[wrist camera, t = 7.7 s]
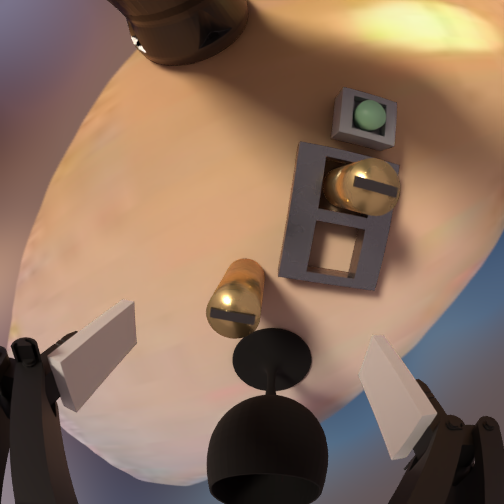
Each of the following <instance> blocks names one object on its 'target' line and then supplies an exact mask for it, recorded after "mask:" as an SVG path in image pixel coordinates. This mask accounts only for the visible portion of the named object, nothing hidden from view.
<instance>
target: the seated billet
mask: <svg viewBox="0 0 504 504" xmlns="http://www.w3.org/2000/svg"><path fill="white" fill-rule="evenodd" d="M323 193H324V195H325V197H326V199H327V200H328V201H329V202H330V203H331V204H332V205H334V206H337V207H340V208H344V209H348V210H352V211H356V212H360V213H363V214H367V215H371V216H381V215H384V214H386V213H388V212H389V211H391V210H392V209H393V208H394V206H395V205H396V203H397V201H398V199H399V195H400V182H399V178H398V176H397V174H396V172H395V170H394V169H393V168H392V166H390V165H389V164H388V163H387V162H385V161H383V160H381V159H377V158H368V159H364V160H361V161H358V162H355V163H351V164H348V165H345V166H342V167H339V168H336V169H333V170H331V171H330V172H329V173H328V174H327V175H326V176H325V178H324V181H323Z"/></svg>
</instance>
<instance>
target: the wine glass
mask: <svg viewBox="0 0 504 504" xmlns="http://www.w3.org/2000/svg"><path fill="white" fill-rule="evenodd" d="M310 365H311V354H310V350H309V348H308V346H307V344H306V343H305V342H304V341H303V340H302V339H301V338H300V337H299V336H298V335H296V334H294V333H292V332H290V331H287V330H284V329H278V328H267V329H261V330H257V331H254V332H252V333H251V334H250V335H248V336H246V337H244V338H243V339H242V340H241V341H240V342H239V343H238V344H237V346H236V348H235V350H234V353H233V367H234V369H235V372H236V373H237V375H238V376H239V377H240V379H241V380H243V381H244V382H245V383H246V384H248V385H250V386H252V387H254V388H256V389H260V390H265V391H266V395H261V396H256V397H252V398H249V399H247V400H244V401H242V402H241V403H239V404H237V405H235V406H234V407H233V408H231V409H230V410H229V411H228V412H227V413H226V414H225V415H224V416H223V417H222V418H221V420H220V421H219V422H218V424H217V426H216V428H215V429H214V431H213V434H212V436H211V439H210V443H209V447H208V453H207V476H208V484H209V489H210V493H211V494H212V495H213V496H214V497H215V498H216V499H217V500H219V501H221V502H222V503H224V504H310V503H312V502H313V501H315V500H316V499H317V498H318V497H319V496H320V495H321V493H322V490H323V486H324V483H325V478H326V473H327V467H328V448H327V442H326V437H325V434H324V431H323V429H322V427H321V425H320V423H319V421H318V420H317V418H316V417H315V416H314V415H313V414H312V412H311V411H310V410H308V409H307V408H306V407H305V406H303V405H302V404H300V403H298V402H297V401H295V400H292V399H290V398H287V397H284V396H279V395H276V391H278V390H284V389H287V388H290V387H292V386H294V385H296V384H297V383H299V382H300V381H301V380H302V379H303V378H304V377H305V376H306V374H307V373H308V371H309V369H310Z"/></svg>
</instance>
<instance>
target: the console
mask: <svg viewBox="0 0 504 504" xmlns="http://www.w3.org/2000/svg"><path fill="white" fill-rule="evenodd" d="M365 100H373V101H376V102H378V103H379V104H380V105H381V106H382V107H383V108H384V110H385V113H386V121H385V123H384V125H383V126H381V127H380V128H378V129H376V130H374V131H372V132H367V131H363V130H360V129H359V128H358V127H357V126H356V125H355V123H354V121H353V112H354V110H355V109H356V108H357V107H358V106H359V105H360V104H361V103H362V102H363V101H365ZM396 116H397V103H396V102H393V101H390V100H387V99H384V98H381V97H378V96H375V95H372V94H368V93H365V92H361V91H358V90H354V89H350V88H346V87H343V88H342V89H341V91H340V92H339V94H338V95H337V97H336V98H335V105H334V115H333V124H332V133H331V139H334V140H339V141H343V142H347V143H351V144H355V145H359V146H363V147H367V148H371V149H374V150H378V151H382V150H385V149H388V148H391V147H394V145H395V133H396Z"/></svg>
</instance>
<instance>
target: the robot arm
mask: <svg viewBox="0 0 504 504" xmlns="http://www.w3.org/2000/svg"><path fill="white" fill-rule="evenodd" d="M108 1H109V2H110V3H111V4H112V5H114V6H115V7H116V8H117V9H118V10H119V11H120V12H121V13H122V14H123V15H124V16H125V17H126V20H127V23H128V27H129V31H130V34H131V38H132V41H133V43H134V45H135V47H136V48H137V49H138V50H139V51H140V52H141V53H142V54H143V55H144V56H145V57H146V58H148V59H149V60H151V61H153V62H155V63H158V64H163V65H185V64H191V63H195V62H198V61H201V60H204V59H207V58H209V57H211V56H213V55H215V54H217V53H219V52H221V51H222V50H224V49H225V48H227V47H228V46H229V45H230V44H232V43H233V42H234V41H235V40H236V39H237V38H238V37H239V35H240V34H241V33H242V31H243V30H244V28H245V26H246V23H247V20H248V8H247V3H246V0H108ZM136 344H137V340H136V326H135V307H134V301H130V300H125V299H122V300H121V301H119V302H118V303H116V304H115V305H114V306H112V307H111V308H110V309H108V310H107V311H106V312H104V313H103V314H101V315H100V316H99V317H97V318H96V319H95V320H93V321H92V322H91V323H89V324H88V325H87V326H85V327H84V328H83V329H81V330H80V331H79V332H77V331H75V332H72V333H69V334H67V335H66V336H64V337H63V338H62V339H61V340H59V341H58V342H56V344H54V345H52V346H51V347H50V348H48V349H47V350H46V351H44V352H43V353H42V354H40V352H39V348H38V345H37V342H36V341H35V340H34V339H32V338H27V337H25V338H20V339H17V340H15V341H14V342H13V343H12V345H11V348H12V351H13V354H14V357H15V359H13V358H9V357H8V354H7V351H6V349H5V348H4V347H2V346H0V504H1V496H2V487H3V480H4V473H5V468H6V462H7V457H8V453H9V448H10V463H11V475H12V484H13V491H14V497H15V504H78V501H77V498H76V495H75V492H74V488H73V485H72V481H71V477H70V474H69V469H68V465H67V461H66V456H65V451H64V446H63V440H62V434H61V427H60V420H59V411H58V405H57V402H56V400H57V399H58V398H59V397H61V400H62V402H63V405H64V406H65V407H67V408H69V409H71V410H73V411H75V412H78V411H79V409H80V408H81V407H82V406H83V405H84V403H85V402H86V401H87V400H88V399H89V398H90V396H91V395H92V394H93V393H94V392H95V391H96V389H97V388H98V387H99V386H100V385H101V384H102V382H103V381H104V380H105V379H106V378H107V377H108V376H109V374H110V373H111V372H112V371H113V370H114V369H115V368H116V366H117V365H118V364H119V363H120V362H121V361H122V360H123V358H124V357H125V356H126V355H127V354H128V353H129V352H130V350H131V349H132V348H133V347H134V346H135V345H136ZM358 376H359V378H360V381H361V383H362V386H363V388H364V390H365V393H366V395H367V398H368V400H369V403H370V405H371V408H372V410H373V412H374V415H375V417H376V420H377V423H378V425H379V428H380V430H381V433H382V436H383V438H384V441H385V444H386V446H387V449H388V452H389V455H390V457H391V460H395V459H401V458H406V457H407V456H408V455H409V453H410V452H411V451H412V449H413V450H414V452H415V454H416V455H415V456H414V457H413V459H412V460H411V461H410V462H409V463H408V465H407V466H406V467H405V468H404V470H406V469H407V470H406V472H405V475H404V476H403V478H402V480H401V482H400V484H399V486H398V487H397V489H396V491H395V493H394V494H393V496H392V498H391V499H390V501H389V503H388V504H504V446H503V441H502V437H501V432H500V428H499V425H498V423H497V422H496V421H495V419H493V418H491V417H488V416H483V417H481V418H480V419H479V420H478V422H477V423H476V425H465V424H464V422H463V421H462V420H461V419H460V418H458V417H456V416H454V415H447V414H446V413H445V411H444V410H443V408H442V407H441V405H440V404H439V402H438V401H437V400H436V398H434V395H433V394H432V393H431V391H430V389H429V388H428V386H427V385H426V384H425V383H423V382H422V381H421V380H419V379H416V380H415V378H414V377H413V375H412V374H411V373H410V371H409V370H408V368H407V367H406V365H405V364H404V362H403V361H402V360H401V358H400V357H399V355H398V354H397V353H396V351H395V350H394V348H393V347H392V346H391V344H390V343H389V341H388V340H387V339H386V337H385V336H384V335H372V336H371V340H370V343H369V346H368V349H367V351H366V354H365V357H364V360H363V363H362V366H361V368H360V371H359V374H358ZM474 461H475V464H474Z"/></svg>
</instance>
